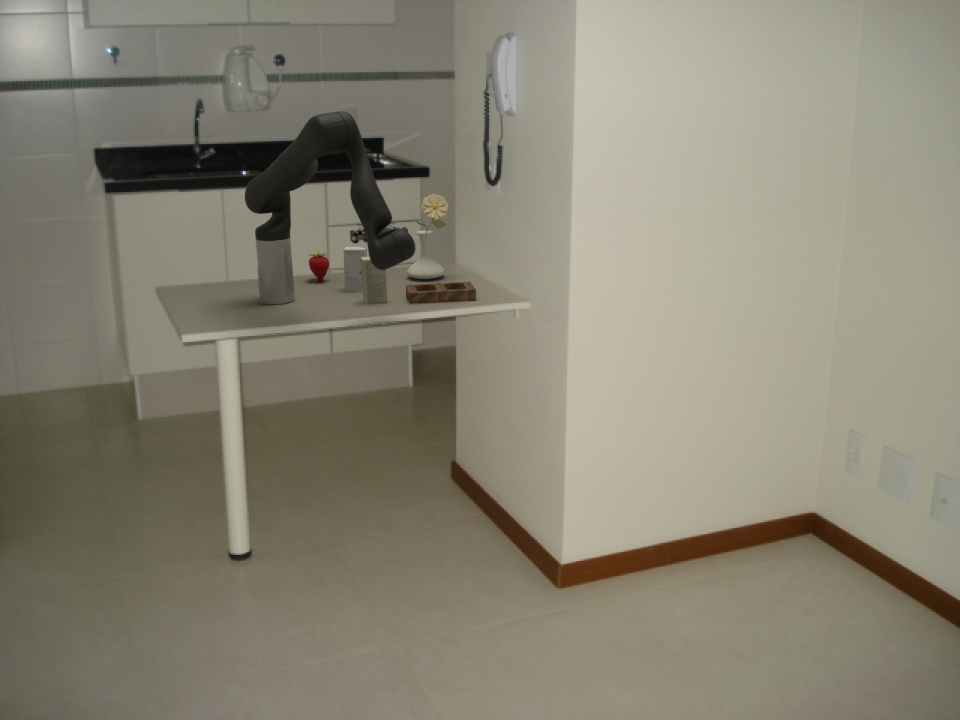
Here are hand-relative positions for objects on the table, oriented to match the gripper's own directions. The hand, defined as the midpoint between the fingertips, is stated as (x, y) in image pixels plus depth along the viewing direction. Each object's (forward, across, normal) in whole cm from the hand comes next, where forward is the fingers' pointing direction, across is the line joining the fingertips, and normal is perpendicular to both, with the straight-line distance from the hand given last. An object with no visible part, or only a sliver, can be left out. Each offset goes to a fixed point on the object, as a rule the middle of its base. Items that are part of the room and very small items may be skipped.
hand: (376, 231), depth 256 cm
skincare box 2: (+11, 0, +21) cm, 24 cm away
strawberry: (+41, +14, +19) cm, 47 cm away
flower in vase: (+37, -18, +20) cm, 46 cm away
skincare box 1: (+26, +4, +20) cm, 33 cm away
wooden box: (+11, -18, +21) cm, 29 cm away
